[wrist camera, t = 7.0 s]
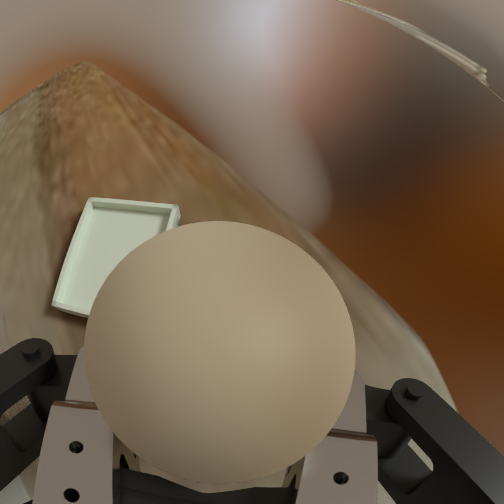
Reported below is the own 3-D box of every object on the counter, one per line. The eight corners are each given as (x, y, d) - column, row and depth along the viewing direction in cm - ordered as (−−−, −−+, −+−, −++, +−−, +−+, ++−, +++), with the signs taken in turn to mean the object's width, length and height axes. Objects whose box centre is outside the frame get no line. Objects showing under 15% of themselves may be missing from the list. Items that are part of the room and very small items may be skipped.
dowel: (181, 407, 14) (68, 445, 3) (192, 335, 16) (121, 208, 5) (258, 418, 14) (342, 486, 3) (266, 345, 16) (354, 239, 5)
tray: (61, 311, 27) (51, 305, 25) (95, 207, 33) (89, 197, 31) (154, 332, 27) (148, 328, 25) (180, 216, 33) (177, 205, 31)
